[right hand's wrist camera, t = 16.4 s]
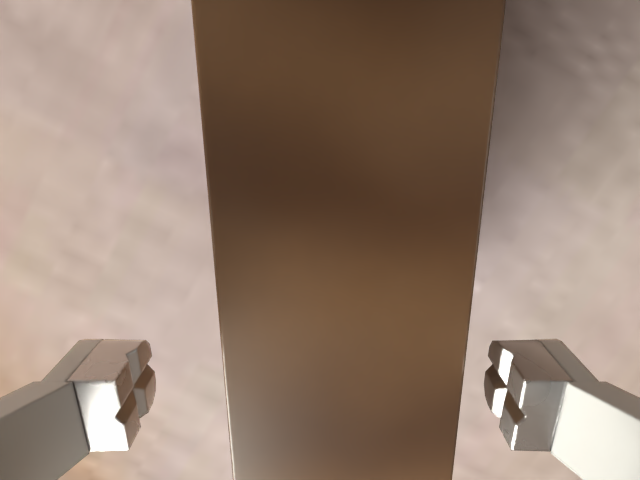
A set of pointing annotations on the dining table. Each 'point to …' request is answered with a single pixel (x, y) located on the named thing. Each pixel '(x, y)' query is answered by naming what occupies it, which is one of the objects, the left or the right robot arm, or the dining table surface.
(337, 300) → the box
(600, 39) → the dining table surface
